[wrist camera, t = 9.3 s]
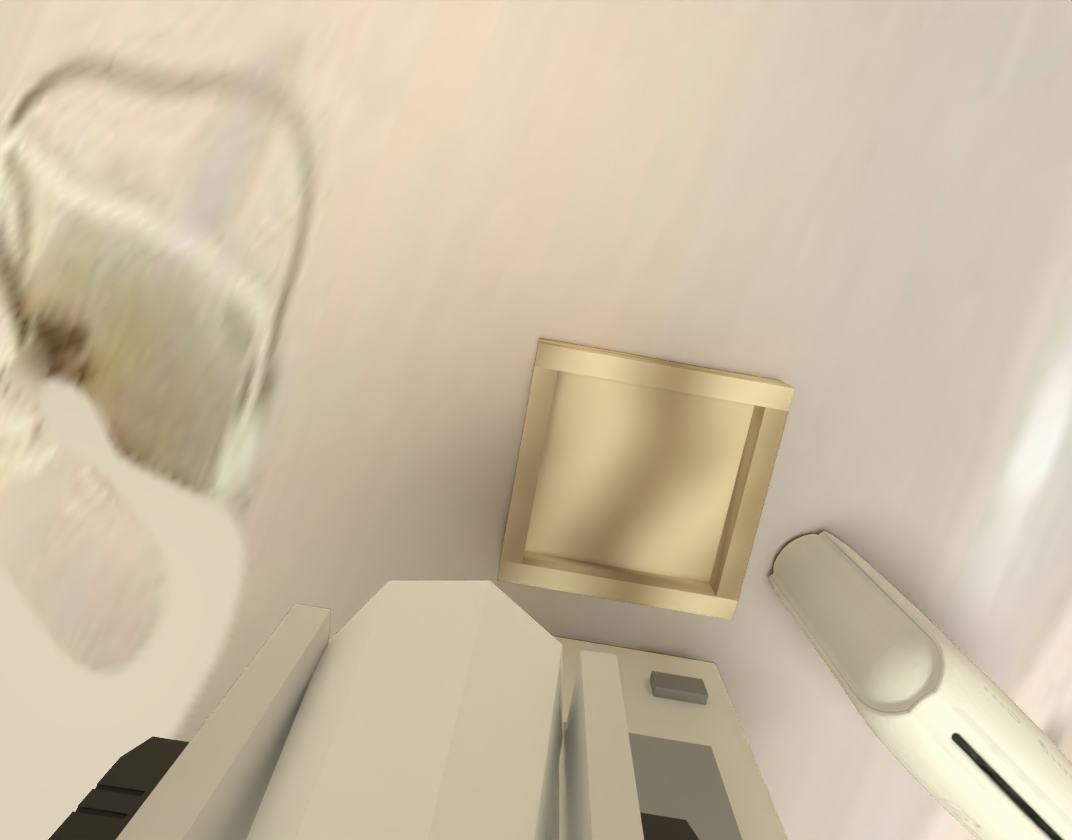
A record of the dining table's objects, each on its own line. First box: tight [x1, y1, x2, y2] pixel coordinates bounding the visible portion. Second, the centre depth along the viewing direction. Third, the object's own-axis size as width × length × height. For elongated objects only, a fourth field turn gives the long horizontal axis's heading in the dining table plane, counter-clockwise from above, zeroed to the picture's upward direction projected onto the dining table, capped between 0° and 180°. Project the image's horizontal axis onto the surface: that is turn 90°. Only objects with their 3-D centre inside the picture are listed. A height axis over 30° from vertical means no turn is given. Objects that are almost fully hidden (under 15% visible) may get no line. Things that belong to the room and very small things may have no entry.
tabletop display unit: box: [549, 636, 788, 840], centre depth 27 cm, size 16×9×16 cm, turn 80°
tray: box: [497, 338, 795, 620], centre depth 31 cm, size 11×11×2 cm
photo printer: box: [769, 531, 1072, 840], centre depth 27 cm, size 10×4×12 cm, turn 45°
